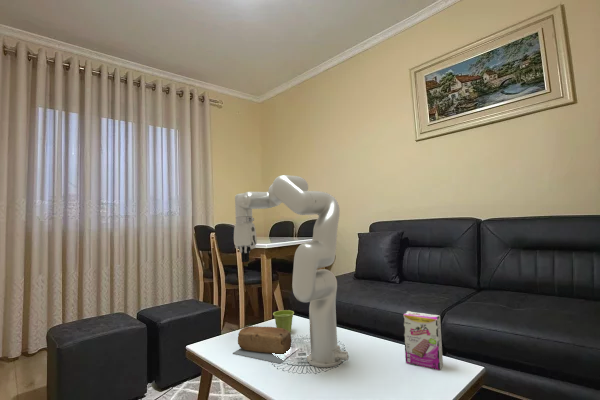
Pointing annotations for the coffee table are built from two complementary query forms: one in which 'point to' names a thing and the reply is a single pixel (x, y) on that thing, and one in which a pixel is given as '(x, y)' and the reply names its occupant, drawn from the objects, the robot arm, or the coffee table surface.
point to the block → (265, 339)
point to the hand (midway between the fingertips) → (245, 261)
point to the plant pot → (284, 319)
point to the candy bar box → (423, 340)
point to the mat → (259, 355)
